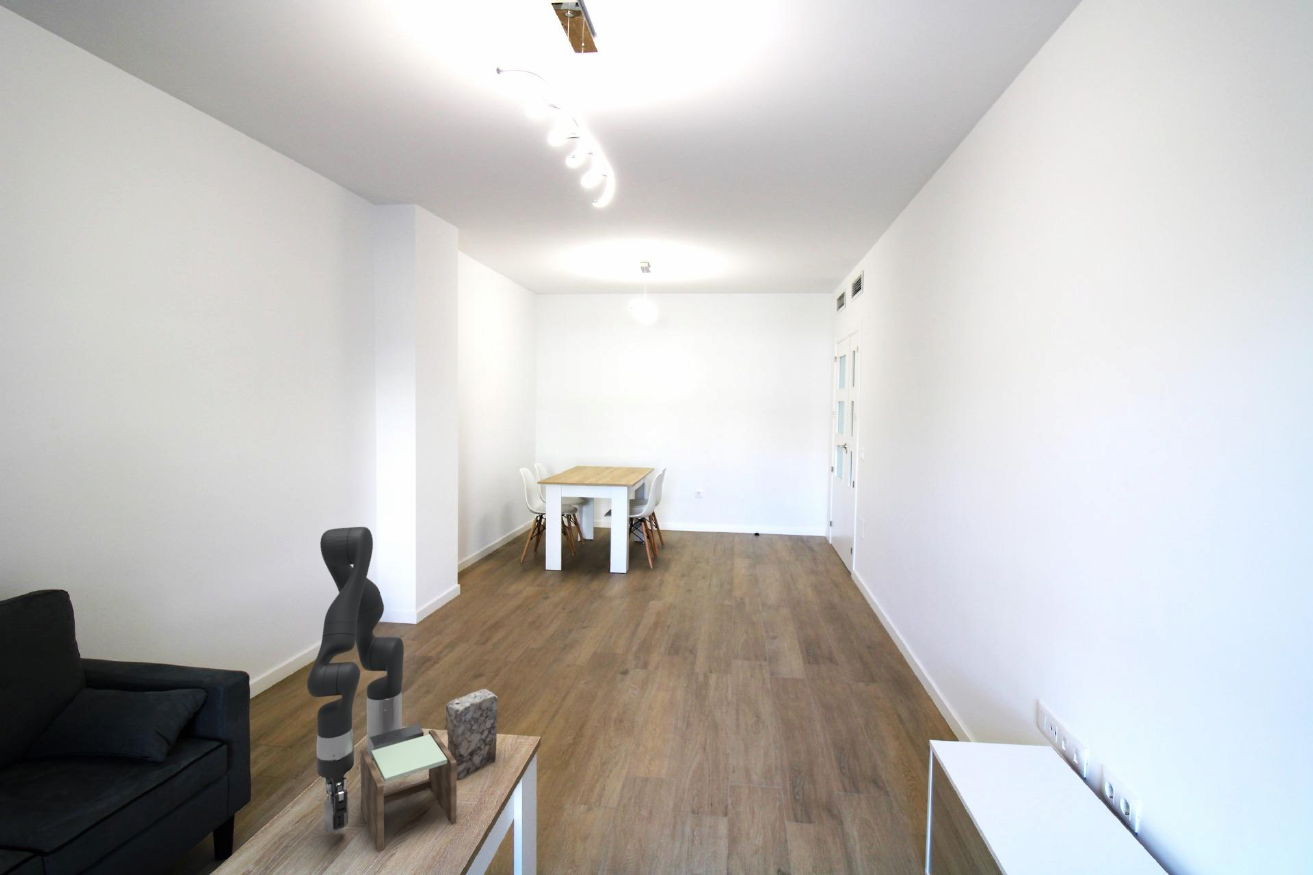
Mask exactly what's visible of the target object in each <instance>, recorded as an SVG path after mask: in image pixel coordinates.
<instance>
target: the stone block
mask: <svg viewBox="0 0 1313 875" xmlns="http://www.w3.org/2000/svg"><path fill="white" fill-rule="evenodd" d="M498 701H499V696H497V695H496V694H495V693H493V692H492V691H490V690H488V689H487V688H483V689H480V690H477V691H473V692H471V693H469V694H465V695H463V696H461V697H457V698H455V699H452V700H450V701H449V702H448V703H447V704H446V705H445V721H446V735H447V747H446V748H447V749H448V750H449V752H450V753H451V755H452V756H453V757H454V759H455V760H456V762H457V780H462V779H464V778H466V777H468V776H470V775H472V774H474V773H476V772H478V771H479V770H482V769H483V768H485V767H487V766H488V765H491V764H493V763H495V762H496V756H497V736H498V735H497V734H498V733H497V731H498V728H497V727H498V726H497V723H498V716H497V715H498Z"/></svg>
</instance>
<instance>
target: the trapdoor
mask: <svg viewBox="0 0 1313 875" xmlns="http://www.w3.org/2000/svg"><path fill="white" fill-rule="evenodd" d="M424 733H425V732H424V730H423V729H422V728H421V726H420V725H419V724H418V723H416V724H413V725H410V726H406V727H402V729H398V730H394V731H391V732H387V733H383V734H380V735H376V736H372V737H370V751H371V755H372V757H373V759H372V760H373V761H374V763H375V765H376V766H375V767H376V769H378V770H377V771H379V772H378V773H379V775H380V776H381V778H382V781H383V783H384V784H386V783H389V782H392V781H396V780H398V779H402V778H405V777H407V776H411V775H414V774H417V773H422V772H424V771H427V770H428V771H429V769H431V768H434V767H437V766H440V765H443V764H447V758H446V757H445V756H444V754H443V753H442V751H441V750H440V748H439V747H438V745H437V744H436V742H435V741H434V740H433V738H432V737H431V735H430V734H429V733H428V734H426V735H424Z"/></svg>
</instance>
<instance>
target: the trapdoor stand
mask: <svg viewBox="0 0 1313 875" xmlns="http://www.w3.org/2000/svg"><path fill="white" fill-rule="evenodd" d="M429 734H430V735H431V737H432V738H433V740H434V741H435V742H436V744H437V745H438V747H439V748H440V750H441V751H442V753H443V754H444V756H445V757H446V758H447V764H443V765H440V766H437V767H434V768H431V769H428V779H423V780H421V781H417V782H415V783H412V784H409V785H405V786H403V787H400V788H397V789H394V790H391V791H387V792H385V791H384V786H385V785H384V782H383V779H381V778H382V777H380V776H381V775H380V773H379V772H378V770H377V767H376V766H375V764H374V762H373V759H371V757H370V755H369V753H368V751H367V747H365V748H362V749H360V810H361V813H362V814H363V817H364V820H365V822H366V825H367V827H368V830H369V832H370V835H371V838H372V840H373V843H374V845H375V848H376V850H377V853H380V852H382V851H384V850H385V849H384V848H385V843H384V841H385V836H384V835H385V830H384V829H385V825H384V820H385V819H384V817H385V816H384V815H385V812H384V810H385V809H384V808H385V806H384V805H385V804H389V803H391V802H394V801H397V800H400V799H403V798H406V797H409V796H413V795H416V794H418V793H421V792H424V791H427V790H429V789H430V791H431V793H432V795H433V796H434V798H435V799H436V801H437V802H438V805H439V806H440V808H441V810H442V811H443V813H444V814H445V816H446V818H447V819H448V822H449V823H450V825H455V824H457V791H458V790H457V785H458V784H457V782H458V781H457V762H456V760H455V759H454V757H453V756H452V755H451V753H450V752H449V750H448V749H447V748H448V747H447V746H446V744H445V743H444V742H443V740H442V739H441V737H440V736H439V734H438V733H437V732H436V730H435V729H429V730H428V735H429Z"/></svg>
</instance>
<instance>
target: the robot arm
mask: <svg viewBox="0 0 1313 875" xmlns="http://www.w3.org/2000/svg"><path fill="white" fill-rule="evenodd" d="M373 548H374V540H373V535H372V532H371V530H370V529H369V528H368V527H367V526H366V527H365V526H352V527H351V526H350V527H338V528H332V529H327V530H325V531H324V532H323V533H322V535H321V538H320V551H321V552H320V554H321V556H322V559H323V562H324V564H325V566H326V568H327V570H328V572H329V574H330V575H331V578H332V580H333V581H334V584H335V586H336V588H337V591H338V594H337V595H336V597H335V598H334V599H333V601H332V603H331V604H330V606H329V607H328V609H327V612H326V613H325V617H324V623H323V629H322V638H321V644H320V647H319V650H318V653H317V656H316V659H315V661H314V662H313V665H312V668H311V669H310V672H309V675H308V677H307V682H306V683H307V684H306V687H307V688H306V689H307V690H308V693H309V694H310V696H312V698H313V697H314V698H324V697H332V696H333V697H335V696H341V697H340V698H338V699H336V700H333V701H330V702H326V703H325V704H323V705H322V706H320V708H319V709H318V711H317V715H316V718H317V737H316V738H317V739H316V773H317V775H318V776H319V777H321V778H324V784H325V793H326V794H327V796H326V798H327V799H328V798H329V803H330V804H332V814H333V829H334V830H336V829H339V828H342V827H343V826H344V813H347V796H348V793H349V791H348V790H347V785H348V779H347V776H346V774H347V773H349V772H350V771H351V770H352V769H353V767H354V765H355V751H354V749H355V748H354V747H355V746H354V745H355V744H354V743H355V742H354V731H353V708H354V707H353V705H354V701H355V695H356V692H357V689H358V686H359V682H360V678H361V669H360V667H359V665H358V664H357V663H356V662H354V661H345V662H344V661H342V662H331V661H332V659H333V658H335V657H336V656H337V655H341V654H344V653H347V652H351V651H353V649H354V648H355V646H356V649H357V653H358V658H359V662H360V664H361V667H362V668H363V670H365V671H369V672H386V675H385V676H382V677H378V678H376V679H374V680H373V681H371V682H369V683H368V685H367V688H366V749H367V751H368V753H369V755H370V757H371V759H372V760H374V759H373V757H372V755H371V751H370V737H372V736H376V735H380V734H383V733H387V732H391V731H394V730H398V729H402V728H403V723H402V722H403V716H402V715H403V711H402V709H403V707H402V704H403V702H402V700H403V699H402V698H403V697H402V695H403V693H402V692H403V689H402V685H403V674H404V673H403V672H404V671H403V670H404V669H403V668H404V654H405V647H404V642H403V640H402V638H401V637H398V636H397V637H396V636H391V637H390V636H376V635H374V630H375V628H376V627H377V625H378V624H379V622H380V621H381V618H382V617H383V615H384V612H385V611H384V610H385V605H384V601H383V598H382V594H381V591H380V590H379V587H378V586H377V585H376V583H374V582H373V581H372V580H371V579H369V578H367V577H368V572H369V569H370V565H371V560H372V556H373ZM330 662H331V663H330ZM332 797H334V799H332ZM342 829H343V828H342Z"/></svg>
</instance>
